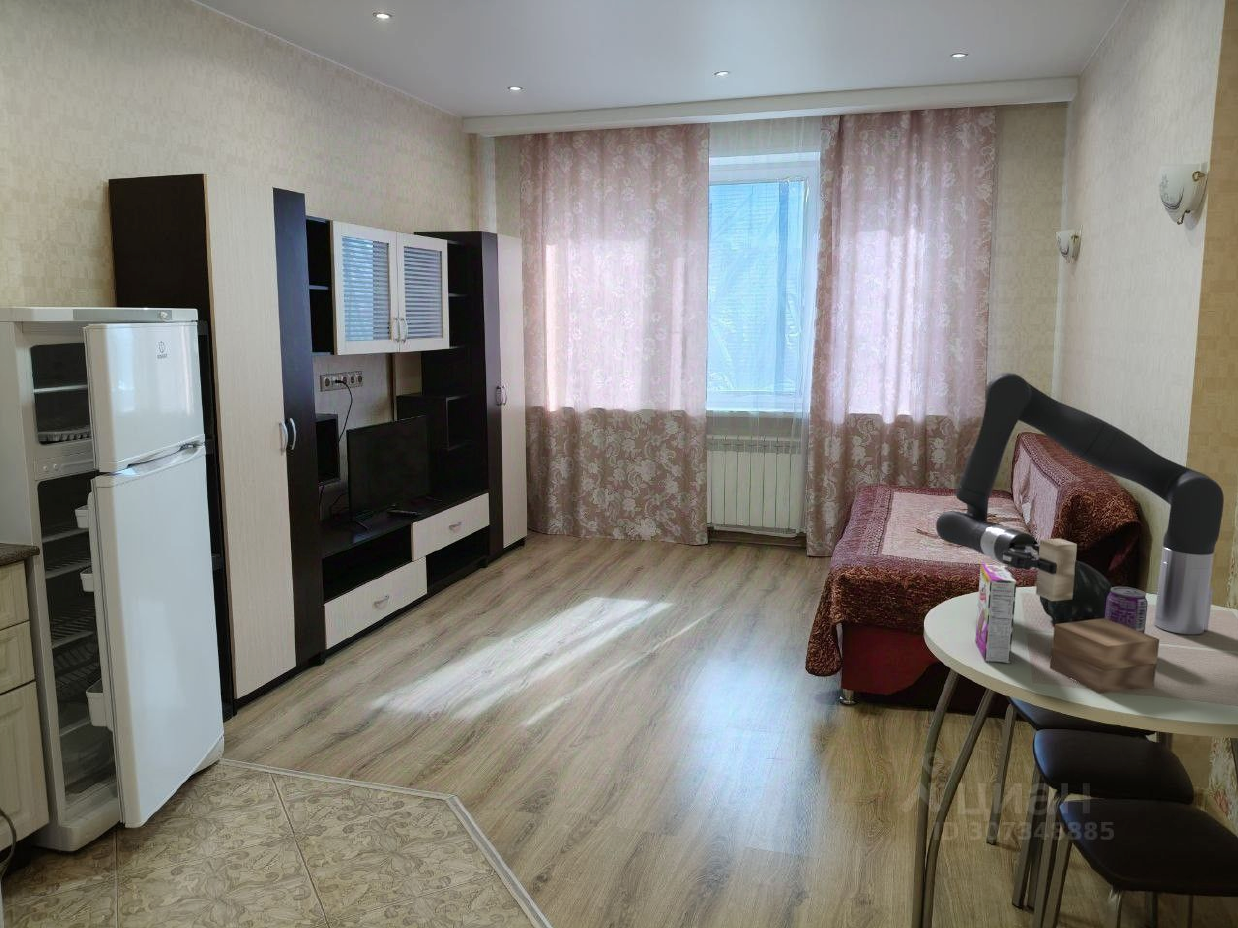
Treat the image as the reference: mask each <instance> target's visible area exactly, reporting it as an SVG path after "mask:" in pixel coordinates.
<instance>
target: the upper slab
mask: <svg viewBox="0 0 1238 928" xmlns="http://www.w3.org/2000/svg"><path fill="white" fill-rule="evenodd" d="M1053 628H1054V629H1053V637H1052V638H1053V639H1052V640H1053V641H1052V647H1053V648H1055V649H1058V650H1060V651H1062V652H1064V653H1066V654H1069V655H1071V656H1073V657H1075V658H1077V659H1080V660H1082V661H1084V662H1086V663H1088V664H1091V665H1093V666H1095V667H1097V668H1099V669H1102V670H1104V671H1108V670H1115V669H1121V668H1128V667H1135V666H1142V665H1149V664H1155V665H1156V664H1158V655H1159V646H1160V638H1157V637H1154V636H1152V635H1149V634H1147V633H1145V632H1144V633H1142V632H1139V631H1137V630H1134V629H1132V628H1129V627H1126V626H1124V625H1121V624H1119V623H1116V622H1113V621H1111V620H1108V619H1106V618H1102V619H1093V620H1085V621H1077V622H1069V623H1061V624H1056V623H1055V624H1054V627H1053Z"/></svg>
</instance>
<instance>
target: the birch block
mask: <svg viewBox="0 0 1238 928" xmlns="http://www.w3.org/2000/svg"><path fill="white" fill-rule="evenodd" d="M1039 545H1040V548H1039V556H1040V557H1041V558H1044V559H1047V560H1049V561H1052V562H1055V563H1056V564H1057V572H1056V574H1050V573H1048V572H1045V571H1043V570H1037V574H1036V587H1035V588H1036V589H1035V595H1037V596H1039V597H1040V596H1041V597H1044V598H1046V599H1048V600H1050V601H1060V600H1070V599H1072V597H1073V585H1074V574H1075V572H1074V571H1075V561H1076V560H1077V550H1078V549H1077V548H1078V547H1077V546H1078V544H1077V543H1074V542H1072V541H1068V540H1066V539H1064V538H1059V537H1058V538H1049V539H1047V538H1046V539H1040V540H1039Z"/></svg>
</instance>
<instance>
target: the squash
mask: <svg viewBox="0 0 1238 928" xmlns="http://www.w3.org/2000/svg"><path fill="white" fill-rule="evenodd" d="M1078 561H1079V562H1080V568H1079V572H1075V574H1074V585H1073V597H1072V599H1070V600H1060V601H1050V600H1048V599H1046V598H1044V597H1041V596H1039V601H1040V603H1041V606H1042V609H1043V611H1044V612H1045V613H1046V614H1047V615H1048V616H1049V617H1050V618H1051V620H1052V621H1053V623H1055V624H1061V623H1069V622H1077V621H1085V620H1093V619H1102V618H1105V612H1106V603H1107V596H1108V595H1109V594H1110V592H1111V588H1112V584H1111V582H1110V581H1109V579H1107V578H1106V577H1105V576H1104V575H1103V574H1102V573H1100V572H1099V571H1098V570H1096V569H1095V568H1093V567H1092V566H1090V565H1088V564H1087V563H1085V562H1082V561H1080V560H1078Z"/></svg>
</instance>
